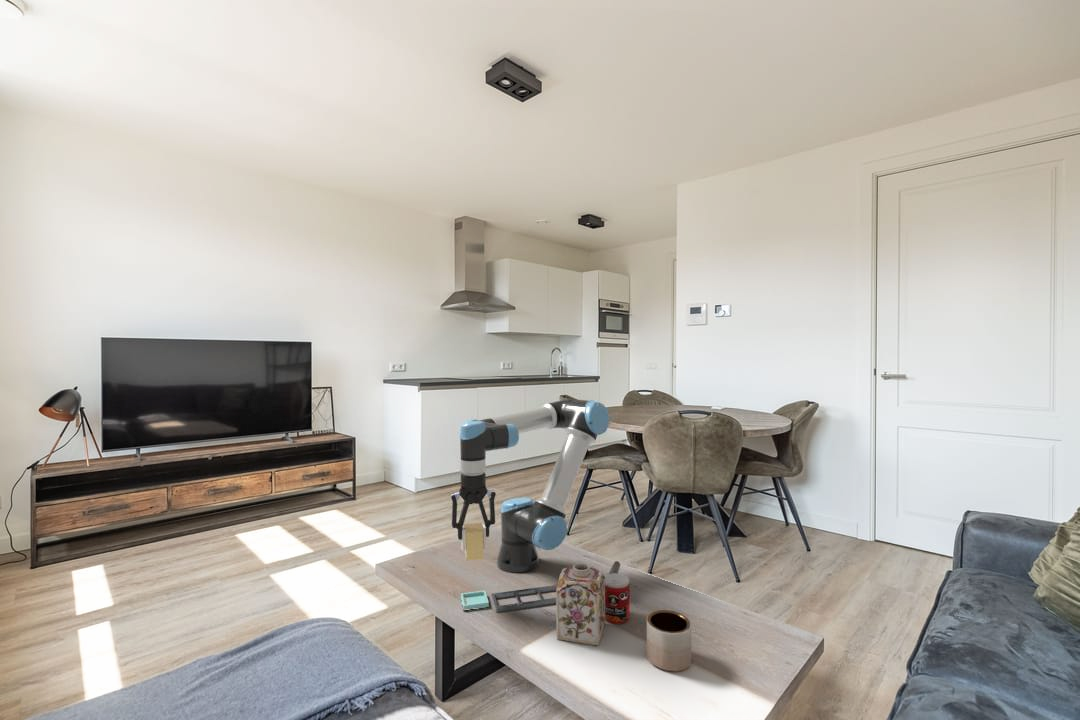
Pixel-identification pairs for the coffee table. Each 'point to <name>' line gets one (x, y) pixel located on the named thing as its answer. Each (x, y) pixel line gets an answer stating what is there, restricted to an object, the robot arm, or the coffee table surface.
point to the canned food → (617, 598)
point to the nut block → (473, 541)
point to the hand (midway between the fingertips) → (473, 548)
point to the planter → (668, 640)
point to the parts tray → (475, 600)
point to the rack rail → (524, 604)
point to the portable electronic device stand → (615, 568)
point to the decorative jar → (580, 604)
